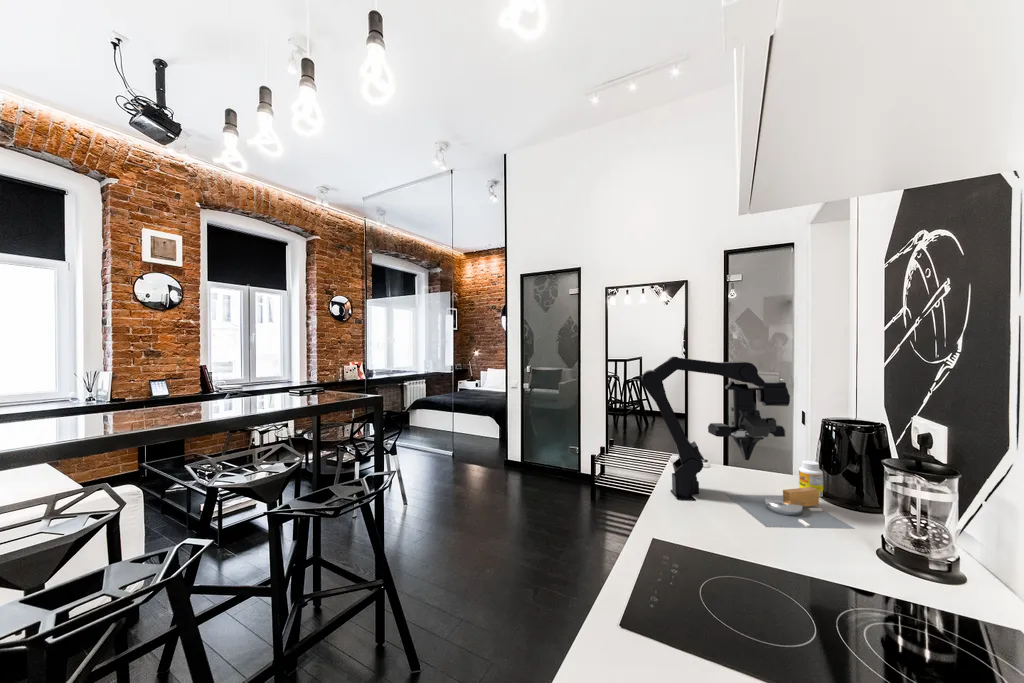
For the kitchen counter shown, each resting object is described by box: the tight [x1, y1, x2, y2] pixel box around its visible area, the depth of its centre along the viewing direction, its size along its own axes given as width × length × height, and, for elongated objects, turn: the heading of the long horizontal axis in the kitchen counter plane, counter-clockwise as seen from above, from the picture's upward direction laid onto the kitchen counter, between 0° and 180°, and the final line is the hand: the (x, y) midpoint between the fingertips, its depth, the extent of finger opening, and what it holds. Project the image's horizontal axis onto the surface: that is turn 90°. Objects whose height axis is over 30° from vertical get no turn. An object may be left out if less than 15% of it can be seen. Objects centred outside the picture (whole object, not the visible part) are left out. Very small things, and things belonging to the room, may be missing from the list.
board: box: [726, 494, 856, 529], centre depth 101 cm, size 20×20×2 cm
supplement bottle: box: [798, 459, 824, 498], centre depth 111 cm, size 6×6×10 cm
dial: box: [765, 487, 820, 516], centre depth 101 cm, size 14×8×5 cm, turn 100°
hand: (746, 459), depth 109 cm, fingers closed
